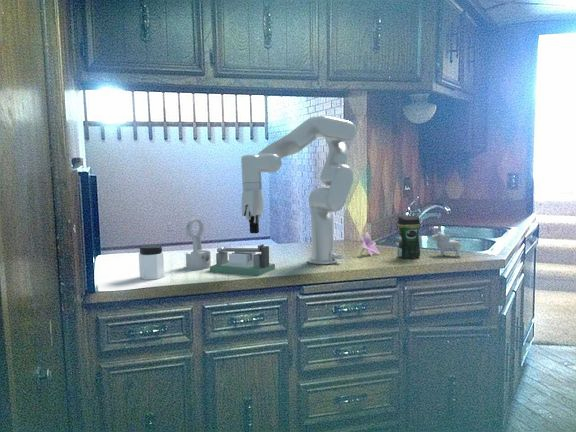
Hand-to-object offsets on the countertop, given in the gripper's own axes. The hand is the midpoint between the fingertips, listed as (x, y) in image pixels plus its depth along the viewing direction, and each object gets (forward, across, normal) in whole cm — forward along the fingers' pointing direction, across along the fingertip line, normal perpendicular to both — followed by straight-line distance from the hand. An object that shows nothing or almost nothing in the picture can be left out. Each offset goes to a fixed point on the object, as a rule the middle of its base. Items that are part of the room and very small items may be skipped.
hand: (254, 232), depth 212 cm
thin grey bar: (+8, +1, -6) cm, 10 cm away
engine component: (+15, +3, -26) cm, 30 cm away
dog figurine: (+18, -59, +65) cm, 90 cm away
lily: (+17, -49, +32) cm, 61 cm away
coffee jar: (+18, -49, +50) cm, 72 cm away
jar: (+14, +25, -32) cm, 43 cm away
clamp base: (+15, +1, -6) cm, 16 cm away
